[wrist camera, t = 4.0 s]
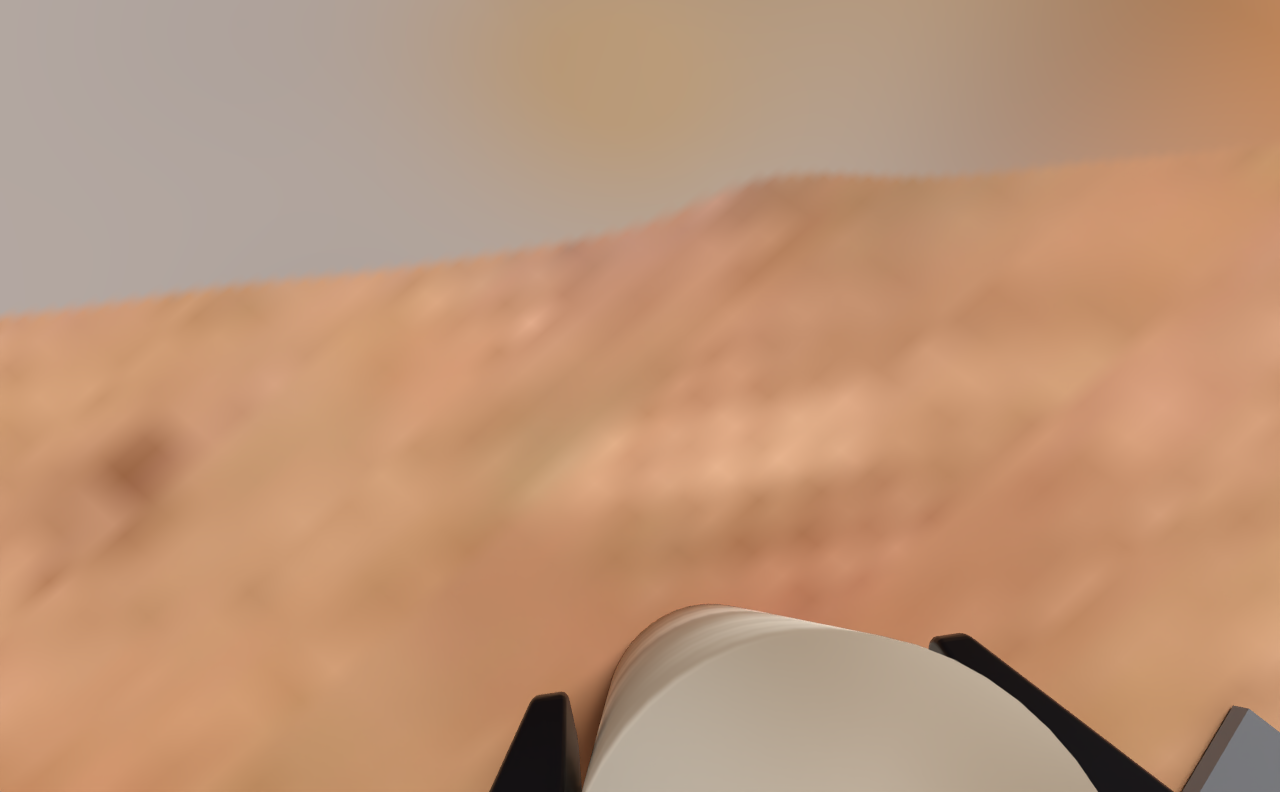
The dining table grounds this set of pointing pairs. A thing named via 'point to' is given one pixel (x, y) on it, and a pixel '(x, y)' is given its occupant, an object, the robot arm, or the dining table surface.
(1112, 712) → the dining table surface
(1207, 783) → the mat
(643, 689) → the stopper
